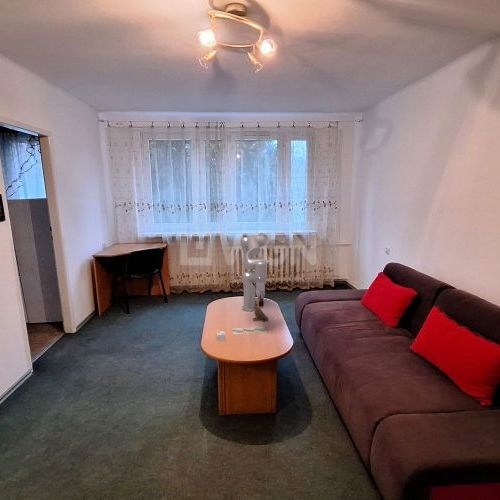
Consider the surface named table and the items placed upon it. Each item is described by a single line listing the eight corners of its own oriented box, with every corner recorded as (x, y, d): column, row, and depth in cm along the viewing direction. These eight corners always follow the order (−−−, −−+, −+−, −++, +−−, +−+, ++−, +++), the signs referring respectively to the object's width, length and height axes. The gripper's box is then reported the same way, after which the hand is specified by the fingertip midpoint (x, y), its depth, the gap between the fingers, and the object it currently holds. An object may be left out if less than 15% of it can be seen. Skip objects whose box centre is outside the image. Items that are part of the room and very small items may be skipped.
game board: (230, 329, 227) (230, 328, 227) (265, 326, 231) (265, 325, 231) (231, 336, 217) (231, 335, 216) (268, 333, 220) (268, 332, 220)
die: (217, 338, 213) (216, 331, 212) (224, 338, 214) (224, 331, 213) (217, 342, 209) (217, 335, 208) (225, 341, 209) (224, 334, 208)
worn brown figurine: (253, 325, 239) (248, 303, 235) (253, 322, 244) (248, 300, 240) (269, 321, 240) (264, 299, 235) (268, 318, 245) (263, 297, 241)
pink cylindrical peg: (256, 306, 223) (256, 290, 221) (263, 305, 224) (263, 290, 221) (257, 308, 219) (257, 292, 217) (264, 308, 219) (264, 292, 217)
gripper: (253, 276, 225) (253, 300, 229) (257, 283, 209) (257, 309, 212) (263, 275, 226) (263, 300, 230) (268, 282, 210) (268, 309, 213)
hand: (260, 304), depth 221 cm, fingers closed on pink cylindrical peg, 4 cm apart
